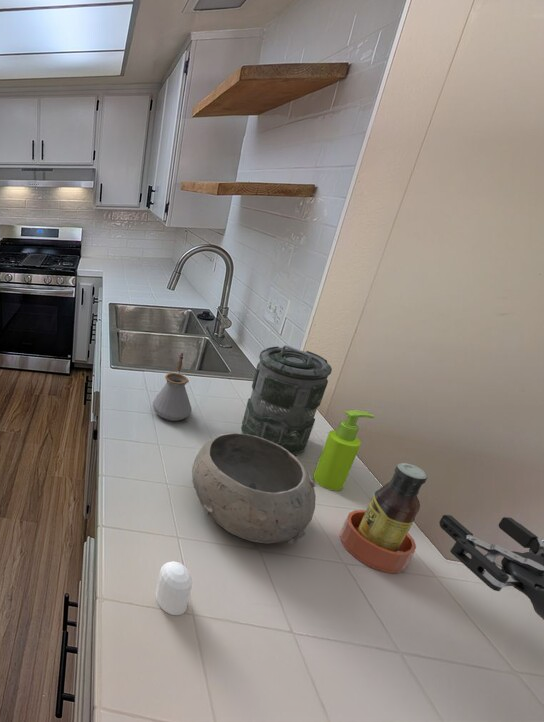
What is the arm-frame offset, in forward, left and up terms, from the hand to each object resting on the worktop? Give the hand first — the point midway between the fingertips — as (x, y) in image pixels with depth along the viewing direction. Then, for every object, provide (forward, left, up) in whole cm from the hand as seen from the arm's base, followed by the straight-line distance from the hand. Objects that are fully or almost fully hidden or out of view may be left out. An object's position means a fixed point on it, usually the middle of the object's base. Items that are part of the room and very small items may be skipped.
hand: (473, 519), depth 58 cm
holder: (+6, -10, -20) cm, 23 cm away
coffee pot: (+53, -41, -21) cm, 70 cm away
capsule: (+37, +22, -21) cm, 48 cm away
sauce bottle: (+5, -9, -20) cm, 23 cm away
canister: (+25, -39, -21) cm, 50 cm away
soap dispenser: (+12, -28, -21) cm, 36 cm away
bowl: (+29, -6, -21) cm, 36 cm away
